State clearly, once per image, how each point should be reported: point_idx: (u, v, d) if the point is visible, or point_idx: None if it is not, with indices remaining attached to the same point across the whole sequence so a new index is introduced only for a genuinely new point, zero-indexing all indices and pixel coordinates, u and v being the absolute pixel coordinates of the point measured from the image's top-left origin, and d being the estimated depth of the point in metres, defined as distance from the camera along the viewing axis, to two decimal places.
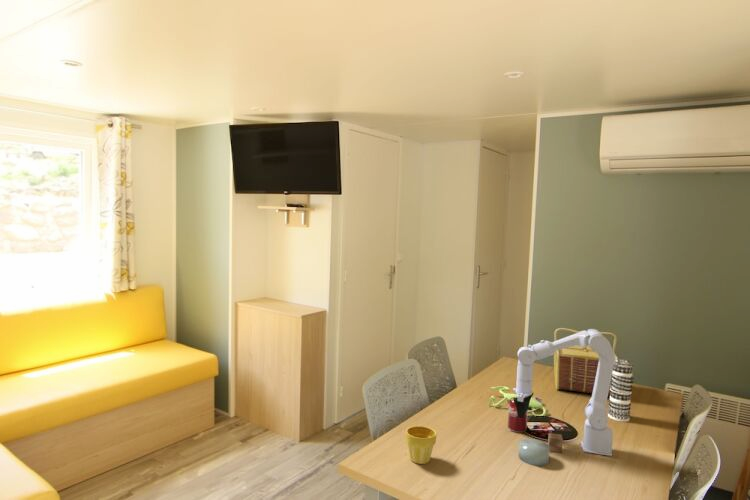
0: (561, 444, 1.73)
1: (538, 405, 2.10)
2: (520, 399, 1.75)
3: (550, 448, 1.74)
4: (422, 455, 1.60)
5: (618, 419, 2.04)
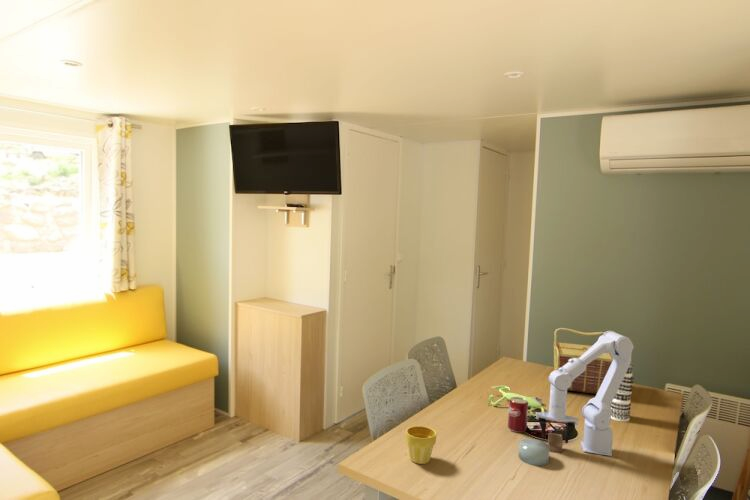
0: (561, 444, 1.73)
1: (537, 405, 2.11)
2: None
3: (550, 448, 1.74)
4: (422, 455, 1.60)
5: (618, 419, 2.04)
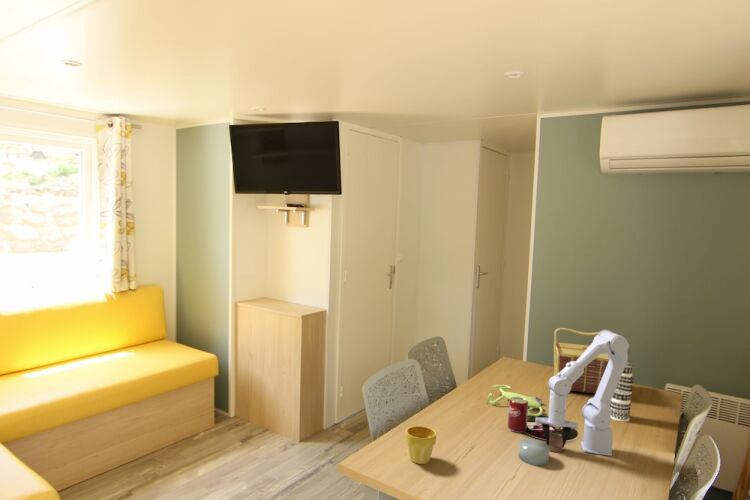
0: (561, 444, 1.73)
1: (536, 404, 2.11)
2: (535, 420, 1.77)
3: (550, 448, 1.74)
4: (422, 455, 1.60)
5: (618, 419, 2.04)
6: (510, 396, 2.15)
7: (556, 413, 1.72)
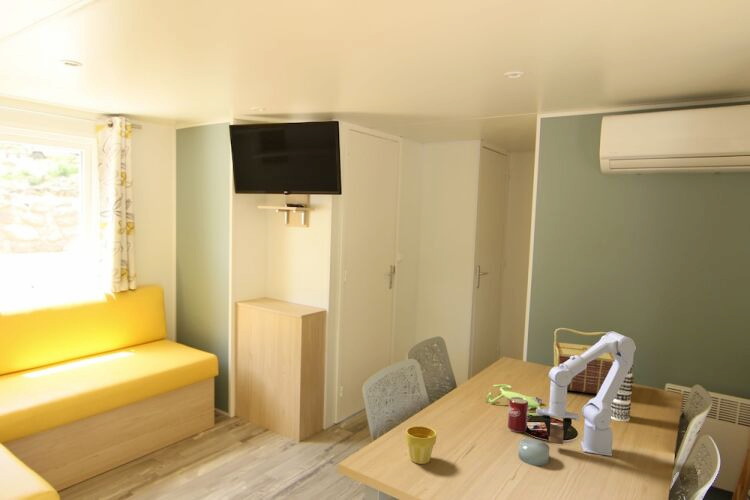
0: (562, 435, 1.72)
1: (534, 404, 2.11)
2: (536, 412, 1.77)
3: (551, 439, 1.73)
4: (422, 455, 1.60)
5: (618, 419, 2.04)
6: (509, 395, 2.16)
7: (557, 404, 1.72)
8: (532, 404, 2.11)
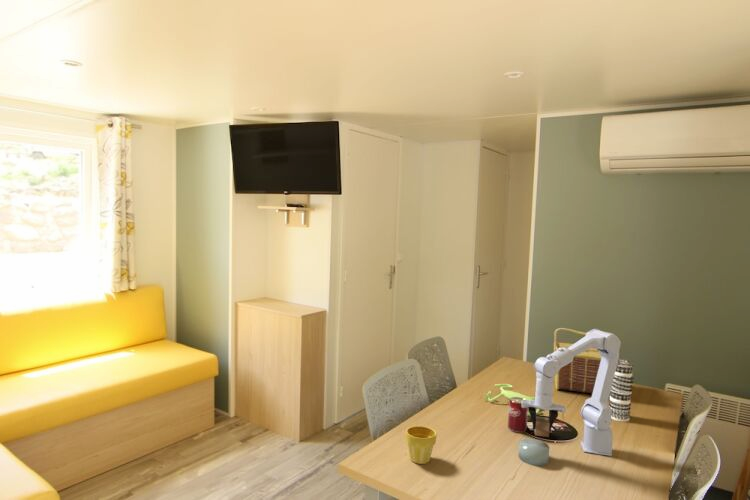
0: (548, 428, 1.67)
1: None
2: None
3: (536, 432, 1.68)
4: (422, 455, 1.60)
5: (618, 419, 2.04)
6: (508, 395, 2.17)
7: (543, 395, 1.66)
8: None
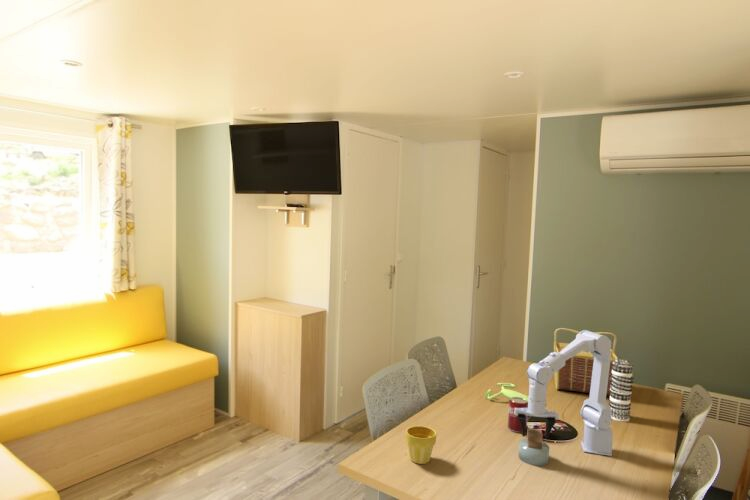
0: (541, 439, 1.65)
1: None
2: None
3: (529, 444, 1.66)
4: (422, 455, 1.60)
5: (618, 419, 2.04)
6: (507, 393, 2.18)
7: (536, 403, 1.64)
8: None
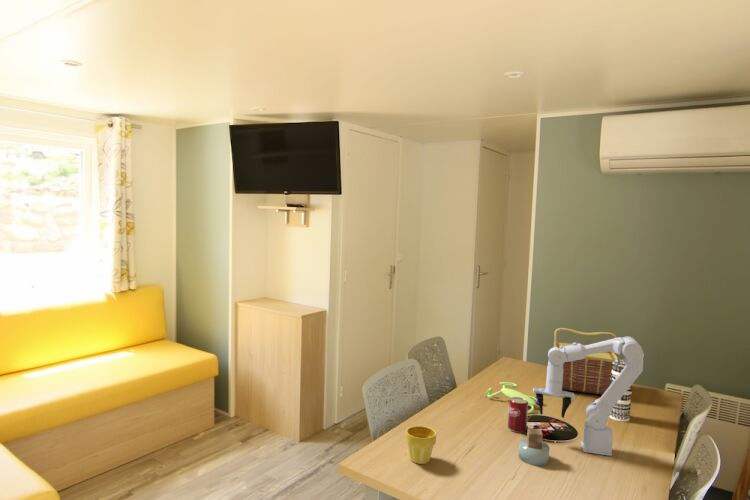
0: (541, 439, 1.65)
1: (529, 403, 2.13)
2: (533, 391, 1.82)
3: (530, 444, 1.66)
4: (422, 455, 1.60)
5: (618, 419, 2.04)
6: (507, 392, 2.20)
7: (553, 383, 1.77)
8: None
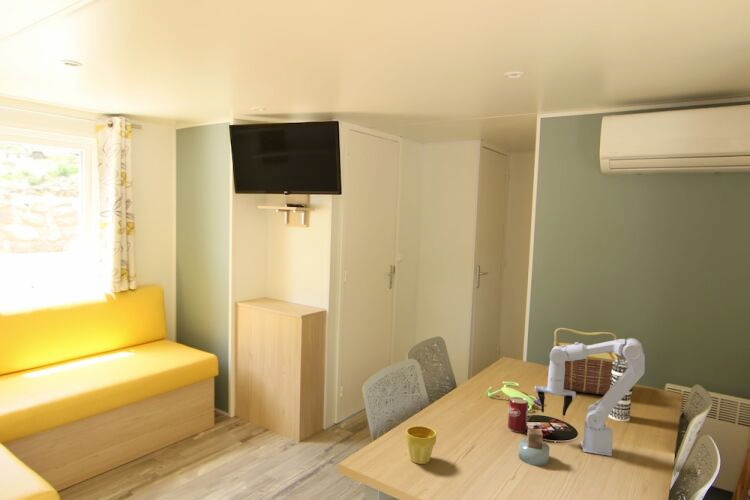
0: (541, 439, 1.65)
1: (528, 402, 2.13)
2: None
3: (530, 444, 1.66)
4: (422, 455, 1.60)
5: (618, 419, 2.04)
6: (506, 391, 2.21)
7: (555, 381, 1.79)
8: None
